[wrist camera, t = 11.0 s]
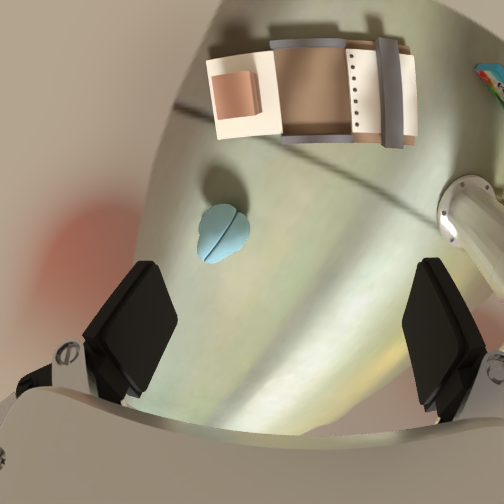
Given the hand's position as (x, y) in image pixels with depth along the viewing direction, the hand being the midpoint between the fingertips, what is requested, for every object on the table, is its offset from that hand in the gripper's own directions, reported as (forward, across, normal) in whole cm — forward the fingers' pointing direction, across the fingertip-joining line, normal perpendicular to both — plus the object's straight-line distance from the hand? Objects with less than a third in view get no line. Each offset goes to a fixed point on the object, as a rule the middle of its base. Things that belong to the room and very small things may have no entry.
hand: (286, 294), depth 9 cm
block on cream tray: (+29, +6, -7) cm, 30 cm away
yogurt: (+31, -33, -10) cm, 46 cm away
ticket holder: (+30, -7, -7) cm, 32 cm away
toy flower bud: (+31, +13, +13) cm, 36 cm away
